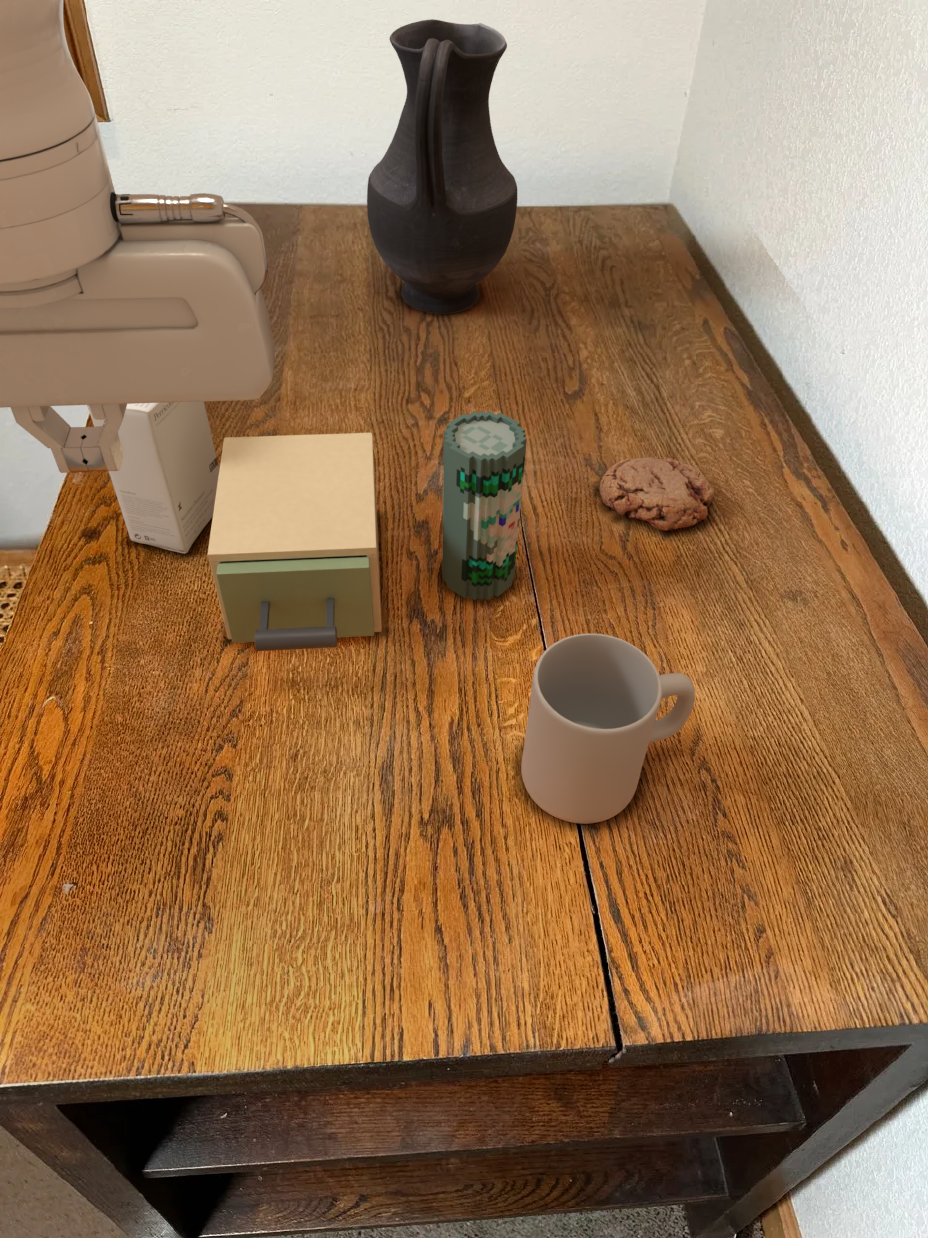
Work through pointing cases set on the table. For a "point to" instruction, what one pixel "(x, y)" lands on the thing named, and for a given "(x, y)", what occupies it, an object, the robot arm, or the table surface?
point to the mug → (595, 725)
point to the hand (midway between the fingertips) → (93, 465)
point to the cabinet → (296, 502)
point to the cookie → (657, 492)
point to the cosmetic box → (166, 473)
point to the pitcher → (443, 169)
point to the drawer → (297, 601)
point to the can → (481, 502)
